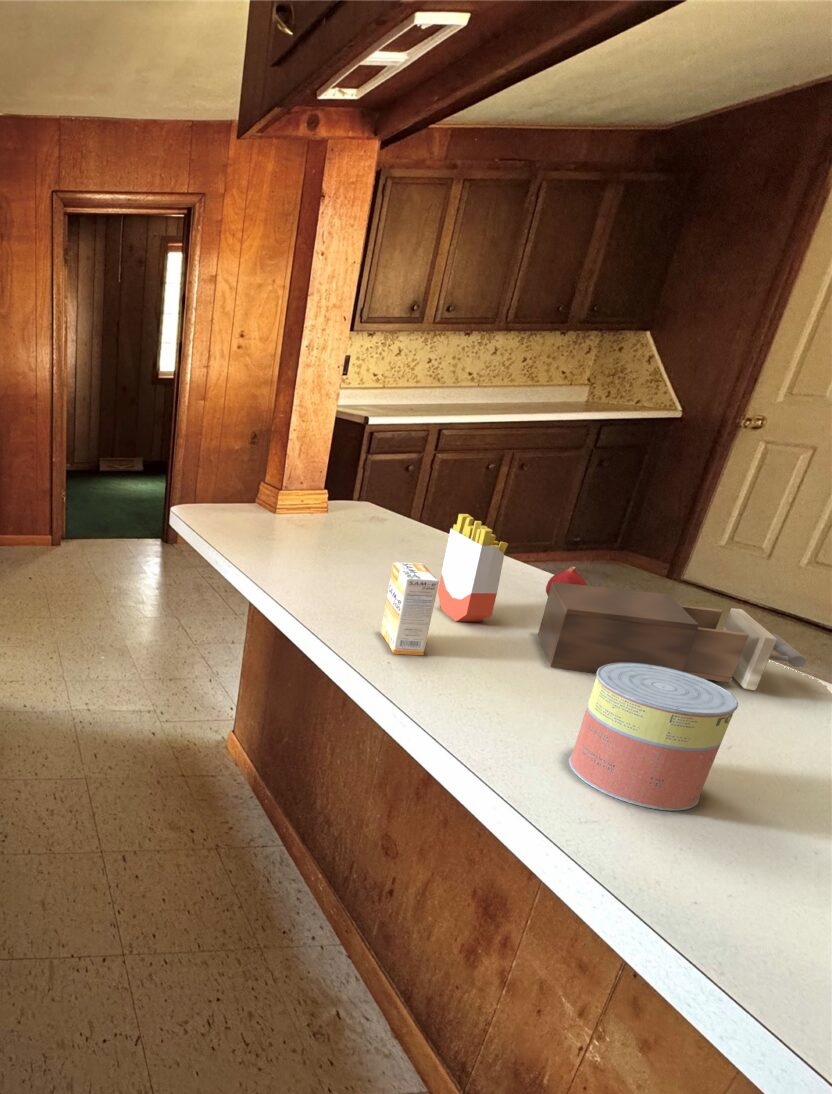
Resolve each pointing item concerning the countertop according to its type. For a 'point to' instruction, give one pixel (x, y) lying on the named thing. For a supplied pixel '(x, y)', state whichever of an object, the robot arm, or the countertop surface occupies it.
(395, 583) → the supplement box
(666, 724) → the canned food
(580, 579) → the onion
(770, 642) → the drawer
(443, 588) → the french fries container
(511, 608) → the countertop surface
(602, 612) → the cabinet
